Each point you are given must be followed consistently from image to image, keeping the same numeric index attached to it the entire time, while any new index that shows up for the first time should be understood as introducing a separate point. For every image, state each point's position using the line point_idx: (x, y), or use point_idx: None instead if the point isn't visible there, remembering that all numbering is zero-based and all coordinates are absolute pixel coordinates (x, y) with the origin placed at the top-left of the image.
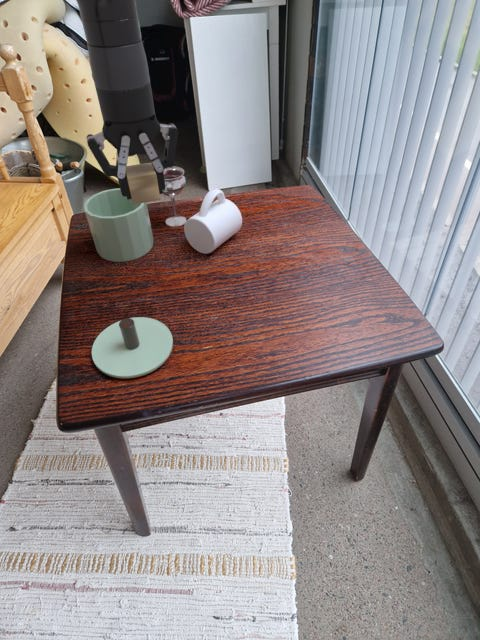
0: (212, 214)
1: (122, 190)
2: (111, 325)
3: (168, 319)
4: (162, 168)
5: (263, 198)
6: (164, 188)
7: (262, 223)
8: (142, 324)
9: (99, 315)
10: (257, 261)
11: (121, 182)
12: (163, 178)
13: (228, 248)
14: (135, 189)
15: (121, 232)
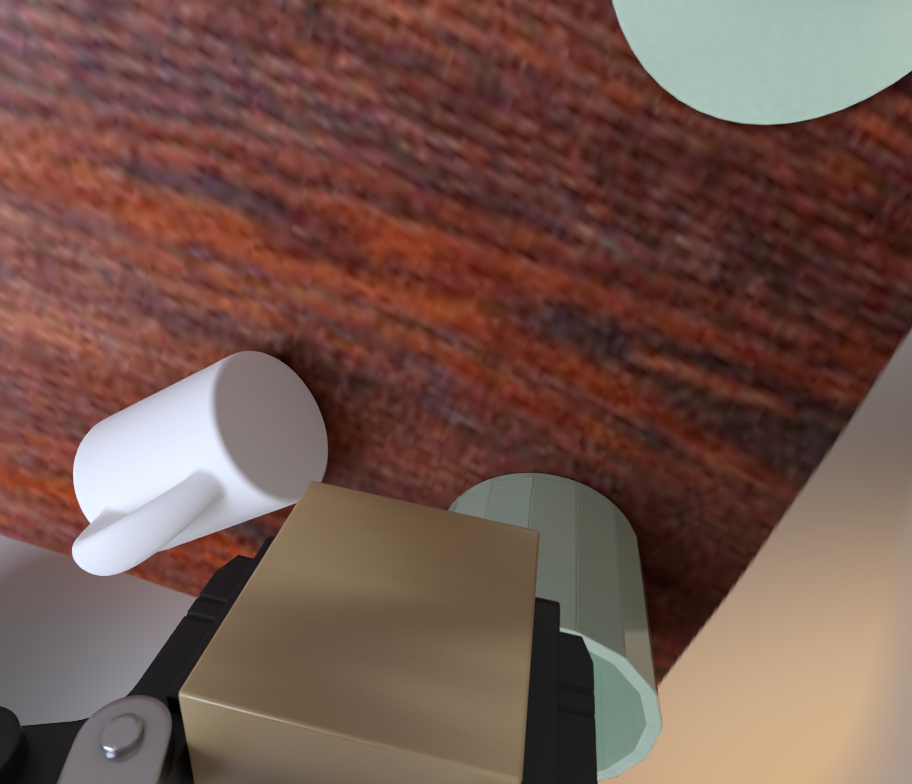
0: (169, 471)
1: (578, 689)
2: (823, 110)
3: (566, 53)
4: (91, 729)
5: (37, 531)
6: (233, 563)
7: (62, 421)
8: (697, 41)
9: (809, 237)
10: (119, 231)
11: (570, 767)
12: (176, 636)
13: (206, 358)
14: (476, 629)
15: (557, 566)
